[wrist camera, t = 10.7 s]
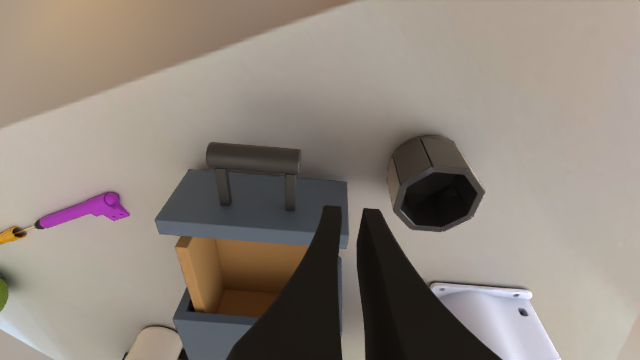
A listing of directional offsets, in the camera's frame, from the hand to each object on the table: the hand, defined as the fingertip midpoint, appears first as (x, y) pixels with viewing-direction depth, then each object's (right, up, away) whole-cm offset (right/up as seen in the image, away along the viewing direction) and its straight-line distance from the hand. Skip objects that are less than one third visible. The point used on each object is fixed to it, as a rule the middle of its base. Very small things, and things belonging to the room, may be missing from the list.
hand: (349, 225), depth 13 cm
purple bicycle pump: (-24, -2, +15) cm, 29 cm away
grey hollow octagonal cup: (+6, +3, +9) cm, 11 cm away
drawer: (-5, -2, +12) cm, 13 cm away
